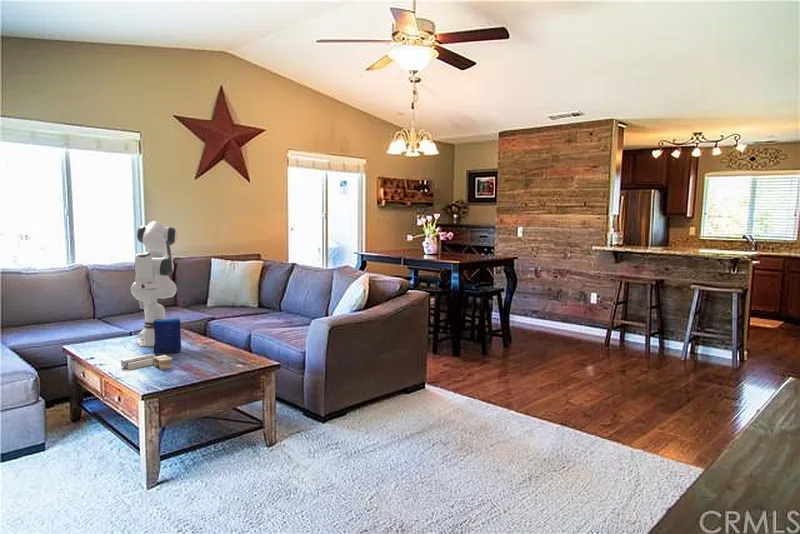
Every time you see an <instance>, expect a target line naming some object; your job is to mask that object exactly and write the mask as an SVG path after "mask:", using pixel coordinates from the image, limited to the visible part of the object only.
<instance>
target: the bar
mask: <svg viewBox="0 0 800 534" xmlns="http://www.w3.org/2000/svg"><path fill="white" fill-rule="evenodd" d="M153 357H156V354H154V352H153V353H149V354H142V355H137V356H132V357H128V358H127V357H126V358H123V359H120V366H121V367H122V368H126V367H128V363H131V362H136V361H141V360H146V359H151V358H152V359H153ZM153 362H154V360H153Z"/></svg>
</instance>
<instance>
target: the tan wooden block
mask: <svg viewBox="0 0 800 534" xmlns="http://www.w3.org/2000/svg"><path fill="white" fill-rule="evenodd" d="M153 360H154V361H153V367H155V368H156V367H157V368H158V369H159V370H161V371H163V370H165V369H166V370H167V369H171V367H172V368H173V357H171V356H169V355H166V354H162V355H158V356H155V357H153Z"/></svg>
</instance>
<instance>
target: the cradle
mask: <svg viewBox="0 0 800 534" xmlns="http://www.w3.org/2000/svg"><path fill="white" fill-rule="evenodd" d="M152 365H154V361H153V359H152V358H151V359H146V360H141V361H136V362H131V363H128V367H125V368H126V369H127V368H128V370H132V368H133V369H138V368H142V366H143V367H147V366H152ZM137 367H138V368H137Z"/></svg>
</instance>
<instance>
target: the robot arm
mask: <svg viewBox="0 0 800 534" xmlns="http://www.w3.org/2000/svg"><path fill="white" fill-rule="evenodd" d="M136 238H137V241H138V242H140V243H143V245H144V247H145V248H146V249H147V251H146V252H144V251H143V252H139V253H136V255H135V258H134V264H133V265H134V266H133V267H134V268H133V269H134V272H135V277H134V280H135V281H134V282H133V283H132V284H131V287H130V293H131V295H132V296H133V297H134V299H135V300H137V301H138V304H139V308H140V309H141V310H144V311H143V313H144V322H143V328H142V329H141V331H140V332H139V333H138V334H137V336H138V338H139V339H138V338H137V339H135V342H136V343H137V344H139V345H138V346H139V347H154V343H155V333H154V320H155V319H166V311H165V307H164V305H162V304H160V303H158V299H168V298H173V297H174V296H175V295H176V294H177V290H178V288H177V285H176V283H175V282H174V281H173V280H172V279H171V278H170V275H171V274H172V273H173V272H174V268H175V266H174V262H173V259H172V251H171V250H172V249H171V246H172V245H175V243H176V240H178V239H177V238H178V232H177V230H176V228H175V227H171V226H164V225H163V224H162V223H161V222H159V221H151V222H149V223H147V225H145V224H144V225H140V226H139V227H138V229H137V231H136Z"/></svg>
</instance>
